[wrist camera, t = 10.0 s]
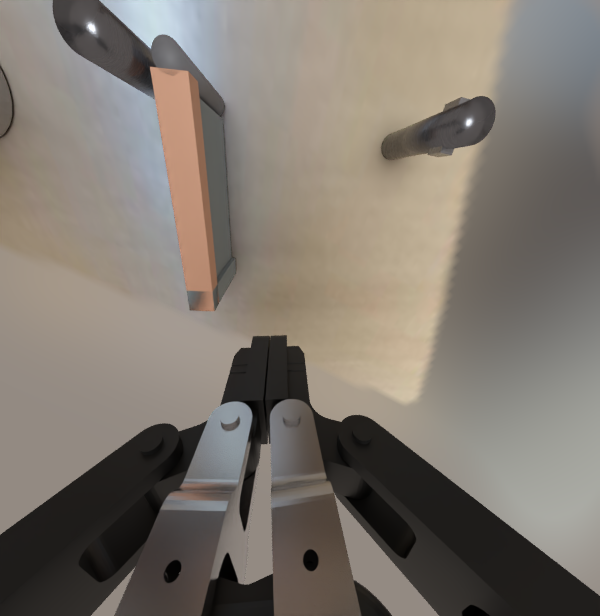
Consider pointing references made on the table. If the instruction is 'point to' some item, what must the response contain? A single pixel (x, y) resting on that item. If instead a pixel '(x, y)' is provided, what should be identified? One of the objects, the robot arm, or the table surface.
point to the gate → (194, 171)
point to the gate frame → (138, 59)
